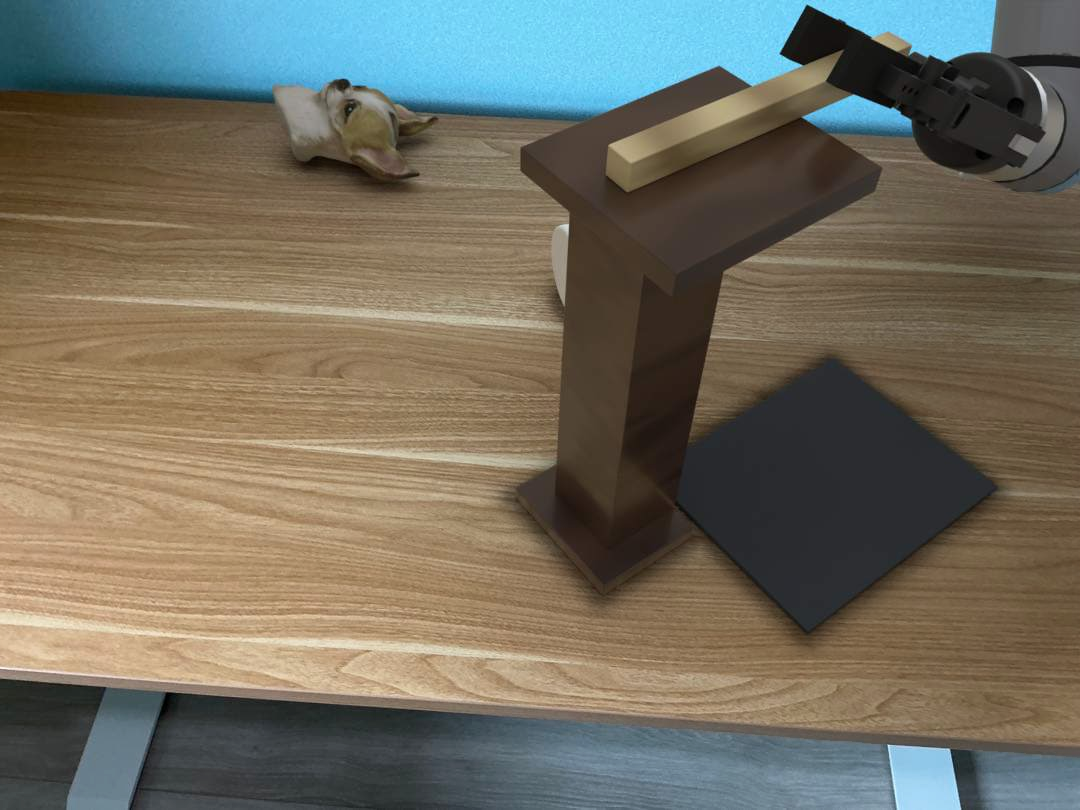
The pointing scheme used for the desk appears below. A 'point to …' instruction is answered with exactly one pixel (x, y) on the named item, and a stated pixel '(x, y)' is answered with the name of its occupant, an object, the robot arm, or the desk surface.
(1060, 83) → the robot arm
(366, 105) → the ceramic sculpture
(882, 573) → the mat
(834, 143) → the stand
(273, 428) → the desk surface
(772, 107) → the wooden stick
